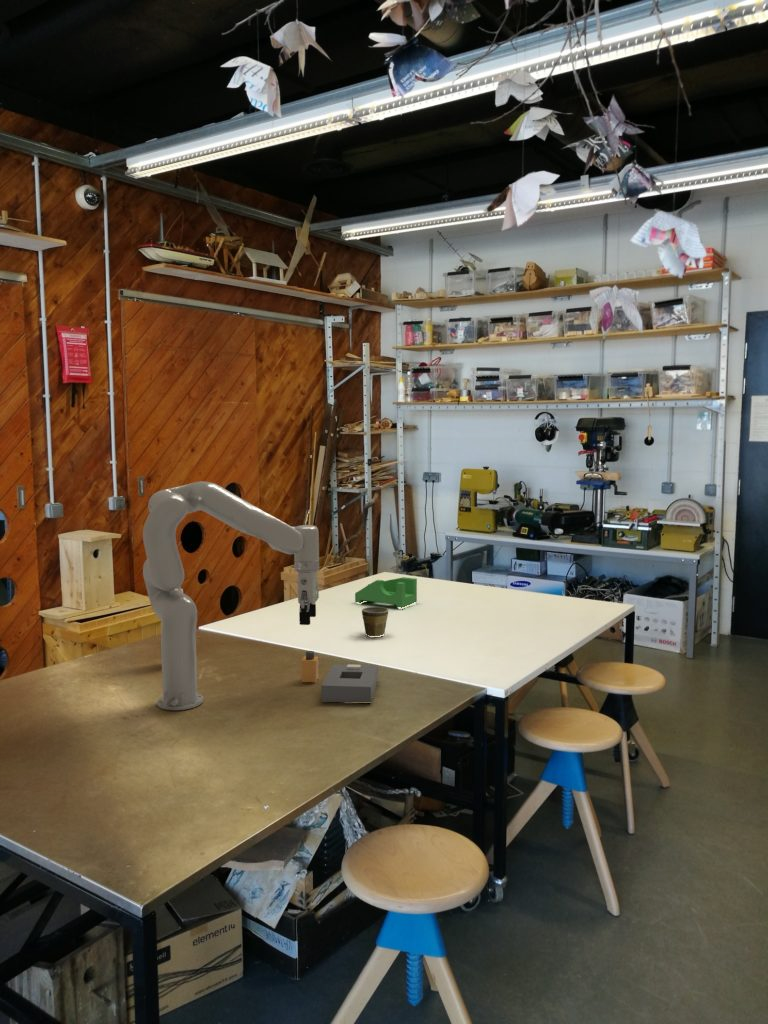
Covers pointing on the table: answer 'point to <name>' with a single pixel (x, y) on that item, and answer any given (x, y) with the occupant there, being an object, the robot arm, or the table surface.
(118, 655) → the table surface
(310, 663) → the plug
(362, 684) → the socket
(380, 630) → the ceramic cup
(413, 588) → the ramp block with notch
